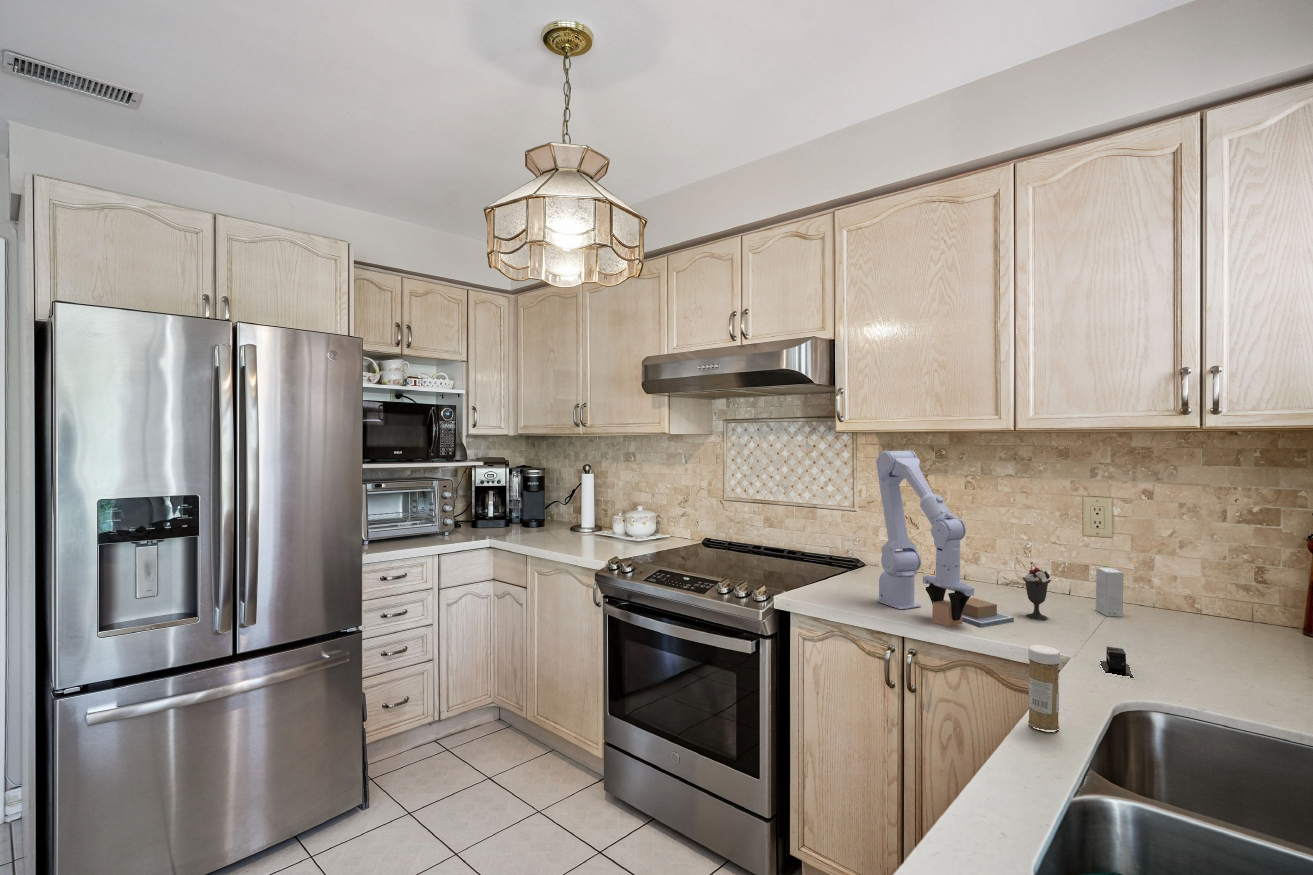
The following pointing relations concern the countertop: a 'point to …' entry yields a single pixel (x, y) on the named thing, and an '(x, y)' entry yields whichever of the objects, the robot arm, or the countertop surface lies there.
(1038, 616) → the sundae
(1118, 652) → the black blocky piece
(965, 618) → the blueprint board
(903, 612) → the countertop surface
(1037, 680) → the sprinkles bottle
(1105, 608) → the skincare box
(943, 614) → the terracotta block
